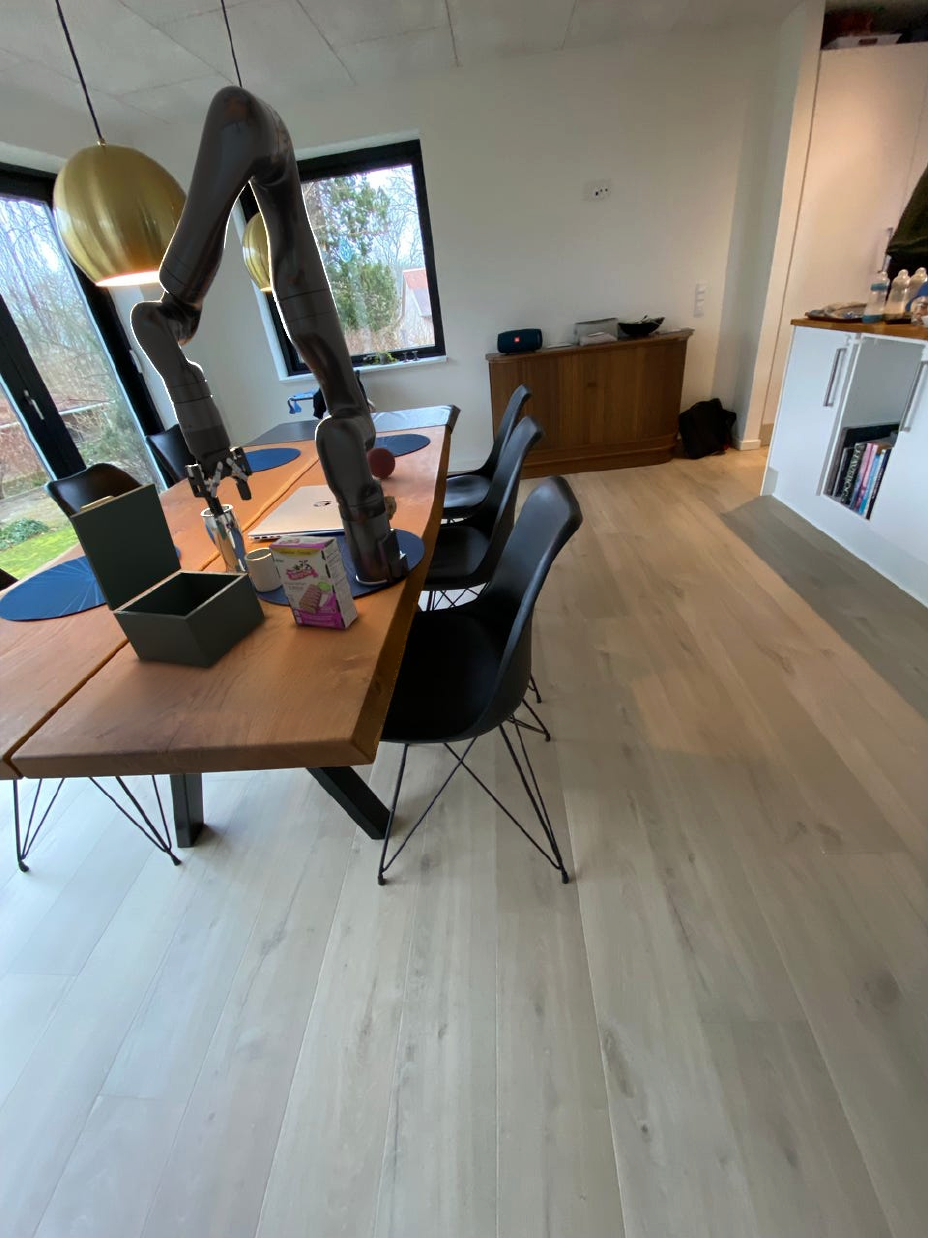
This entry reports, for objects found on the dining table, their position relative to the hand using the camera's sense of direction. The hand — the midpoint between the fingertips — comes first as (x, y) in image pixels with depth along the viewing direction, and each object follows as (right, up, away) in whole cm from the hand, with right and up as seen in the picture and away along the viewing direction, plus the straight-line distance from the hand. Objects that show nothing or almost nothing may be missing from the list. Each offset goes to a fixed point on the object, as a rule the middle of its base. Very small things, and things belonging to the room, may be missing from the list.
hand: (233, 507), depth 105 cm
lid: (-10, -10, -16) cm, 22 cm away
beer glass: (-6, -12, +17) cm, 21 cm away
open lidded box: (-2, -27, -9) cm, 28 cm away
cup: (+5, -15, +8) cm, 18 cm away
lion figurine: (+25, -1, +26) cm, 36 cm away
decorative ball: (+20, +25, +68) cm, 75 cm away
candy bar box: (+22, -24, -9) cm, 33 cm away
